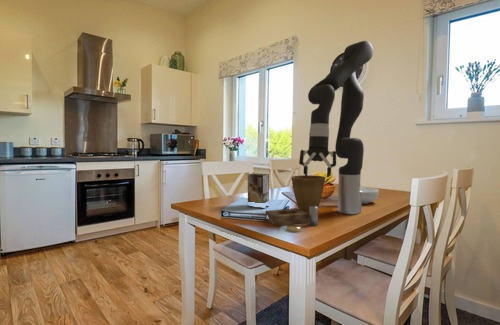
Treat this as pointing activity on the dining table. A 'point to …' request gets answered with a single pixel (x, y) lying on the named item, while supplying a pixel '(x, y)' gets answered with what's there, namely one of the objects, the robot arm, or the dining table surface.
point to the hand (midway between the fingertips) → (316, 176)
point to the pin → (313, 215)
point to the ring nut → (294, 228)
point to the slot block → (287, 216)
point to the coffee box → (258, 188)
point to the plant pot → (308, 190)
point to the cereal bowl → (368, 194)
